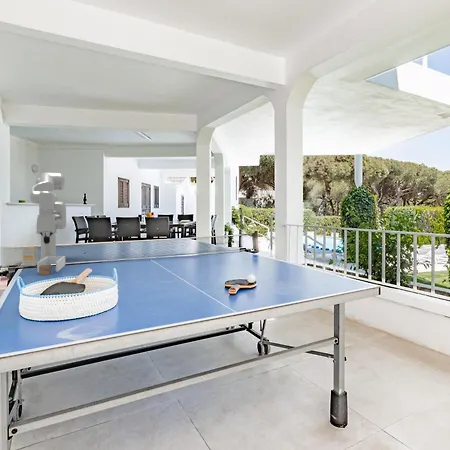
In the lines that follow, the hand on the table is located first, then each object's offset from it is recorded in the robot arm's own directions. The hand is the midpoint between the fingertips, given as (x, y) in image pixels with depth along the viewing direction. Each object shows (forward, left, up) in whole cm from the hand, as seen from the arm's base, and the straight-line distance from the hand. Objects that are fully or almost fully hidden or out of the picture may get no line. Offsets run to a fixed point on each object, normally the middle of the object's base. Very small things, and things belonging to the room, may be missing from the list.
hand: (46, 243), depth 202 cm
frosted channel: (-13, 0, -17) cm, 22 cm away
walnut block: (+4, 0, -17) cm, 18 cm away
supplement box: (-24, -15, -18) cm, 33 cm away
